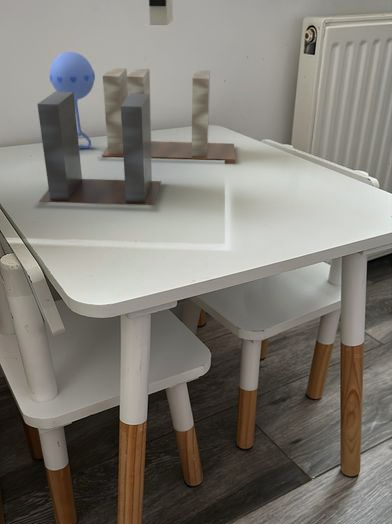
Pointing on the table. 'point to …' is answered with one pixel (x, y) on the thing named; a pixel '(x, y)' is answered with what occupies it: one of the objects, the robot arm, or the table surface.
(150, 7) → the white book
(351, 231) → the table surface
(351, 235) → the table surface
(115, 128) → the beige marbled rack
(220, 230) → the table surface
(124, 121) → the grey rack
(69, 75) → the baby rattle
